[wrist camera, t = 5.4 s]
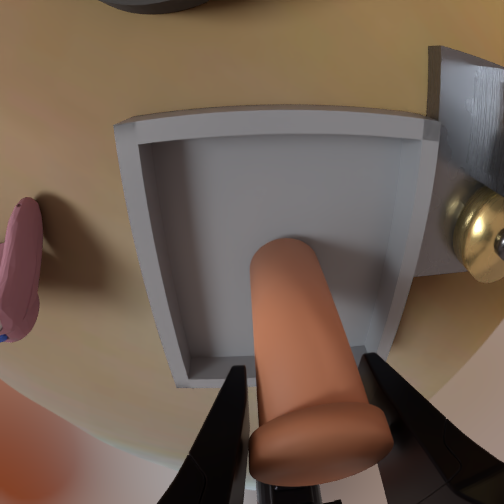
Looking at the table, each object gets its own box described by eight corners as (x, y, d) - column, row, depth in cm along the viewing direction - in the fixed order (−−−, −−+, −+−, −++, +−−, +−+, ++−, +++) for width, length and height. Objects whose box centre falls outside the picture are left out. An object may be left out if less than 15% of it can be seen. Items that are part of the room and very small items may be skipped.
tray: (370, 345, 18) (381, 371, 17) (180, 358, 18) (176, 387, 16) (413, 112, 12) (440, 121, 10) (132, 116, 11) (113, 125, 9)
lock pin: (321, 298, 15) (372, 474, 7) (244, 303, 15) (252, 490, 7) (327, 229, 13) (414, 417, 6) (240, 233, 13) (245, 443, 6)
